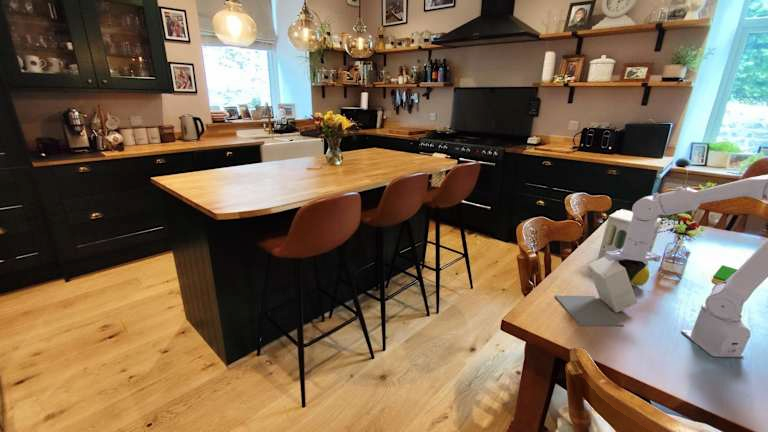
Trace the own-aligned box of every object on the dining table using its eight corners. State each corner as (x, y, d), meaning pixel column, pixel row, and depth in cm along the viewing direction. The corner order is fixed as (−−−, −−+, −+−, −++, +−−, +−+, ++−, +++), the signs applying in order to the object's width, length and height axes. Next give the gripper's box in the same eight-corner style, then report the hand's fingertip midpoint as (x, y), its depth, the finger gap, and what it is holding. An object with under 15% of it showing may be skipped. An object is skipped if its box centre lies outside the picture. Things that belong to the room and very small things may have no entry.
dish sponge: (746, 279, 124) (749, 272, 123) (739, 291, 116) (741, 284, 115) (720, 270, 129) (722, 264, 128) (710, 282, 121) (713, 275, 120)
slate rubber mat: (623, 326, 96) (624, 325, 95) (580, 325, 95) (580, 324, 95) (593, 297, 109) (593, 296, 109) (554, 296, 108) (555, 295, 108)
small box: (638, 303, 100) (626, 268, 96) (616, 313, 101) (603, 278, 97) (618, 288, 108) (607, 254, 104) (598, 297, 109) (586, 264, 104)
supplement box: (596, 258, 134) (607, 215, 128) (609, 250, 142) (621, 208, 136) (636, 273, 124) (651, 226, 118) (648, 262, 132) (663, 218, 126)
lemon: (648, 291, 113) (655, 269, 110) (629, 289, 114) (636, 266, 111) (640, 282, 118) (647, 261, 115) (621, 280, 119) (628, 259, 116)
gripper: (653, 234, 102) (639, 275, 107) (603, 232, 101) (592, 274, 106) (672, 244, 95) (657, 288, 100) (619, 243, 95) (606, 287, 99)
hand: (624, 282), depth 103 cm, fingers closed
